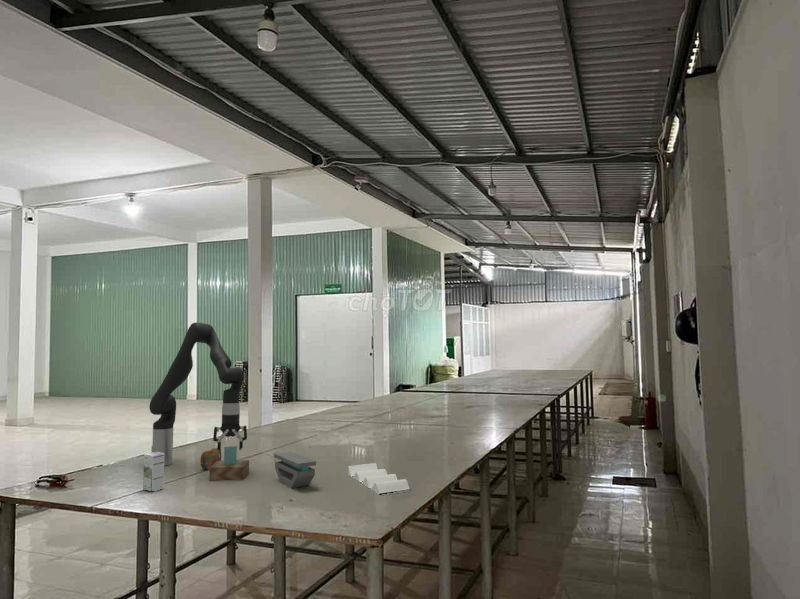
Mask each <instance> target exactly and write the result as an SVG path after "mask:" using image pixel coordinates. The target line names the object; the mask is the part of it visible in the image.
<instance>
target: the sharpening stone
mask: <svg viewBox="0 0 800 599" xmlns="http://www.w3.org/2000/svg"><path fill="white" fill-rule="evenodd" d="M273 458H274V459H277V460H279V461H274V469H275V472H276V474H277V478H278V481H279V483H281V484H282V485H284V486H285V485H286V487H287V486H288V488H289V487H290V488H289V489H295V488H302V487H308V486H307V485H309V486H310V484H311V483H312V480H313V479H314V477H315V476H316V471H315V470H316V469H315V468H313V467H314V466H315V467H316V466H317V461H316V460H314V459H312V458H308V457H305V456H303V455H301V454H298V453H296V452H294V451H285V452H278V453H277V452H275V453H273Z"/></svg>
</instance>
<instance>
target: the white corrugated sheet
mask: <svg viewBox="0 0 800 599" xmlns="http://www.w3.org/2000/svg"><path fill="white" fill-rule="evenodd" d="M347 474H348V475H349V476H351V477H352V476H354V477H353V478H354V479H356V480H358V481H359V482H362V481H363V482H362V484H364V485H365V486H367V487H368V488H371V490H373V491H375V492H376V493H378V494H379V495H381V494H387V493H393V492H397V491H403V490H407V489H410V490H411V488H410V487H409V483H408V480H407V478H404V479H398V477H397V474H395V473H391V474H390V473H387V470H386V468H380V469H378V466H377V463H376V462H371V463H364V464H363V463H362V464H355V465H348V470H347ZM349 476H348V477H349ZM362 484H361V485H362ZM365 486H364V487H365ZM368 488H367V489H368ZM371 490H370V491H371ZM373 491H372V492H373ZM375 492H374V493H375ZM376 493H375V494H376ZM378 494H377V495H378ZM379 495H378V496H379Z"/></svg>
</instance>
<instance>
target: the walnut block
mask: <svg viewBox="0 0 800 599" xmlns="http://www.w3.org/2000/svg"><path fill="white" fill-rule="evenodd" d="M249 473H250V460H249V459H241V460H240V459H239V460H237V459H236V464H234V465H224V460H221V461H217V462H216V463H214V464H213V465H212V466H211V467H210V469H209V476H208V477H209V480H208V481H209V482H222V481H221V480H236V481H244V480H245V478H246V477H247V476H248V475H249ZM247 474H248V475H247ZM246 475H247V476H246ZM243 479H244V480H243Z"/></svg>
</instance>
